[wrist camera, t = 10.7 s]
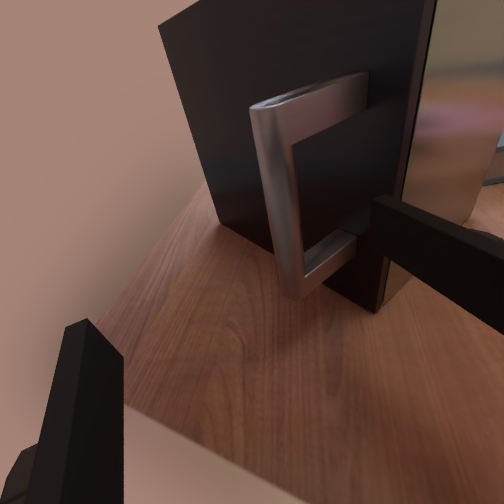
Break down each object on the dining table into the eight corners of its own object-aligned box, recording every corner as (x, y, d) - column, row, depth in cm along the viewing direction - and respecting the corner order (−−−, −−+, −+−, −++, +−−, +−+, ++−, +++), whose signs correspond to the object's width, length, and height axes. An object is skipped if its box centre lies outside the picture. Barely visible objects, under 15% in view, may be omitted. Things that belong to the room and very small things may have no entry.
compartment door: (321, 369, 19) (291, -199, 5) (180, 244, 37) (86, 37, 23) (381, 307, 22) (462, -151, 8) (224, 219, 40) (166, 24, 26)
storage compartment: (382, 307, 23) (467, -158, 8) (226, 219, 40) (167, 22, 26) (470, 216, 30) (597, -118, 16) (304, 175, 47) (292, 2, 33)
